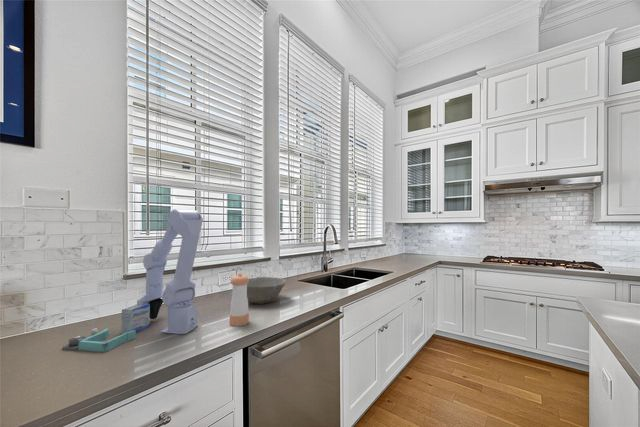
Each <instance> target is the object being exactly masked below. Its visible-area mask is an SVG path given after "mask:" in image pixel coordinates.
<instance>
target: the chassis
mask: <svg viewBox="0 0 640 427" xmlns="http://www.w3.org/2000/svg"><path fill="white" fill-rule="evenodd" d="M136 334H137V332H136V331H135V330H133V331H130V332H126V333H124V334H123V333H121V334H120V335H117V336H116V337H113V338H111V339H109V340H106V339H107V338H108V337H109V336H110V328H105V329H103V330H101V331H100V332H98V328H97V327H95V328H91V331H90V335H87V336H85V335H84V336H83V335H77V336H74V337H72V338H70V339H68V344H65V345H63V346H62V350H69V351H87V352H98V353H99V352H100V353H101V352H102V353H106V352H108V351H110V350H112V349H114V348H116V347H118V346H120V345H122V344H123V343H125V342H128V341H132V340H134V339H136V336H137V335H136ZM104 340H106V341H104Z"/></svg>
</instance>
